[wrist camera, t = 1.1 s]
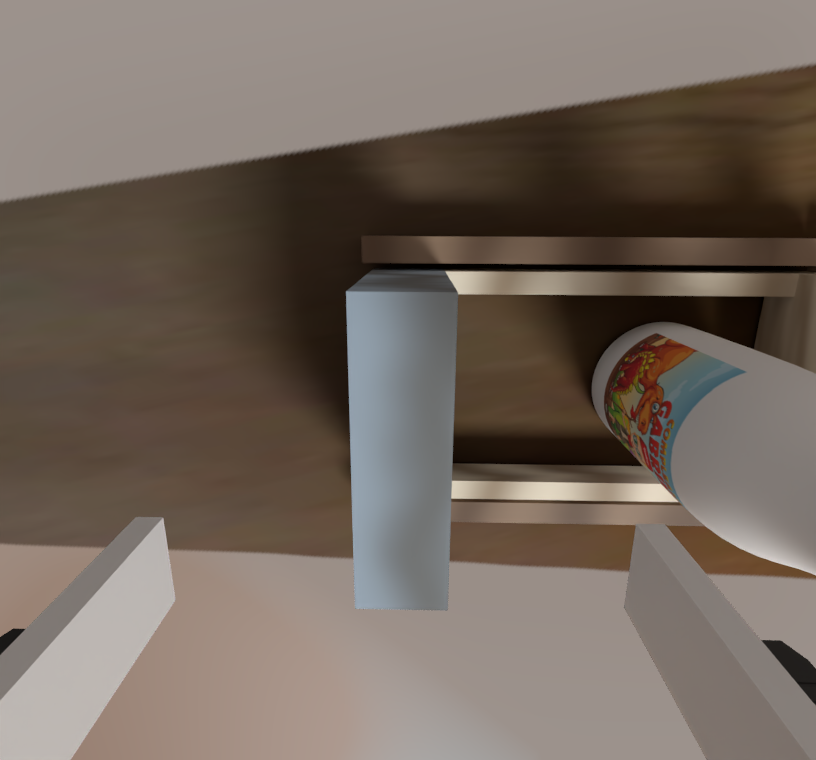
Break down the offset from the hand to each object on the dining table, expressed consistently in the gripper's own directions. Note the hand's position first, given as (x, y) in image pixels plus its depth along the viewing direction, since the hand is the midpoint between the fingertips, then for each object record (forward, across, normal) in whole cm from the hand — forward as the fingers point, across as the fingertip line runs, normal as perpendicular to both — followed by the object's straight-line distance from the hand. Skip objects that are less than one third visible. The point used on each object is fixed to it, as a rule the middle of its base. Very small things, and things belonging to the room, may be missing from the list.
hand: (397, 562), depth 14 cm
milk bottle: (+19, +15, 0) cm, 24 cm away
